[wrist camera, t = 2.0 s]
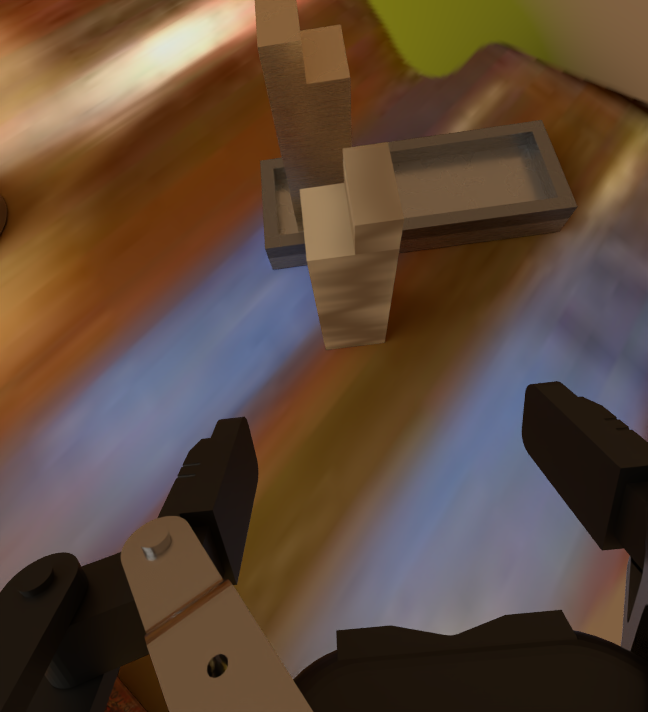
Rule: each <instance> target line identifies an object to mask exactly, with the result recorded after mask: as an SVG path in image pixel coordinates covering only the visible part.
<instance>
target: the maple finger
mask: <svg viewBox="0 0 648 712" xmlns="http://www.w3.org/2000/svg"><path fill="white" fill-rule="evenodd" d="M343 168H344V183H340V184H333V185H326V186H319V187H312V188H305V189H300V197H301V207H302V218H303V228H304V238H305V248H306V258H307V264H308V269H309V274H310V279H311V283H312V288H313V293H314V297H315V302H316V307H317V311H318V316H319V320H320V325H321V330H322V334H323V339H324V344H325V348H326V350H329V349H337V348H346V347H354V346H362V345H370V344H378V343H385V337H386V331H387V325H388V318H389V312H390V306H391V299H392V293H393V287H394V280H395V274H396V267H397V261H398V255H399V248H400V242H401V236H402V229H403V223H404V216H403V211H402V206H401V202H400V197H399V192H398V188H397V183H396V178H395V174H394V169H393V164H392V160H391V155H390V150H389V145H388V142H385V143H378V144H371V145H364V146H357V147H350V148H343Z"/></svg>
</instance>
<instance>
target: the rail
mask: <svg viewBox="0 0 648 712" xmlns="http://www.w3.org/2000/svg"><path fill="white" fill-rule="evenodd" d="M255 12H256V29H257V45H258V51H259V56H260V60H261V65H262V69H263V74H264V78H265V83H266V87H267V92H268V96H269V101H270V105H271V110H272V114H273V119H274V123H275V128H276V132H277V137H278V141H279V146H280V150H281V155H282V158H276V159H270V160H263V161H260V164H261V182H262V200H263V219H264V237H265V250H266V252H267V255H268V258H269V261H270V263H271V266H272V269H273V270H274V269H282V268H289V267H297V266H304V265H308V264H307V258H306V248H305V238H304V228H303V218H302V207H301V197H300V189H305V188H312V187H319V186H326V185H333V184H340V183H344V168H343V148H350V147H352V142H351V94H350V74H349V68H348V63H347V57H346V52H345V46H344V41H343V35H342V30H341V25H335V26H328V27H322V28H316V29H309V30H303V31H300V27H299V19H298V11H297V3H296V0H255ZM388 145H389V150H390V155H391V160H392V164H393V169H394V174H395V178H396V183H397V188H398V192H399V197H400V202H401V206H402V211H403V216H404V223H403V229H402V236H401V242H400V248H399V253H402V252H410V251H417V250H425V249H432V248H440V247H447V246H455V245H462V244H470V243H477V242H485V241H492V240H500V239H508V238H515V237H523V236H530V235H538V234H545V233H553V232H559V231H560V230H561V228H562V227H563V226H564V224H565V223H566V222H567V220H568V219H569V217H570V216H571V215H572V213H573V212H574V211H575V209H576V208H577V204H576V202H575V199H574V197H573V195H572V192H571V190H570V187H569V185H568V182H567V180H566V178H565V175H564V173H563V170H562V168H561V166H560V163H559V161H558V158H557V156H556V153H555V151H554V149H553V146H552V144H551V141H550V139H549V137H548V134H547V132H546V129H545V127H544V125H543V122H542V120H539V121H532V122H525V123H518V124H511V125H504V126H497V127H490V128H484V129H477V130H470V131H463V132H456V133H449V134H442V135H435V136H428V137H421V138H414V139H408V140H401V141H394V142H388Z"/></svg>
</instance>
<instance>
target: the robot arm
mask: <svg viewBox="0 0 648 712" xmlns="http://www.w3.org/2000/svg"><path fill="white" fill-rule="evenodd" d="M6 217H7V206H6V203H5V201H4V199H3V197H2V196H1V195H0V233H1V232H2V230H3V227H4V225H5V222H6ZM522 439H523V443H524V446H525V448H526V450H527V452H528V454H529V455H530V456H531V458H532V459H533V460H534V462H535V463H536V464H537V466H538V467H539V468H540V470H541V471H542V472H543V474H544V475H545V476H546V477H547V479H548V480H549V481H550V483H551V484H552V485H553V487H554V488H555V489H556V491H557V492H558V493H559V495H560V496H561V497H562V499H563V500H564V501H565V502H566V504H567V505H568V506H569V508H570V509H571V510H572V512H573V513H574V514H575V516H576V517H577V518H578V520H579V521H580V522H581V524H582V525H583V526H584V527H585V529H586V530H587V531H588V533H589V534H590V535H591V537H592V538H593V539H594V541H595V542H596V543H597V545H598V546H599V547H600V549H601V550H612V549H622V548H624V549H625V550H626V551H627V552H628V554H629V555H630V557H629V561H628V565H627V575H626V589H625V604H624V618H623V633H622V641H621V647H620V646H618V645H616V644H614V643H612V642H610V641H607V640H604V639H602V638H599V637H597V636H593V635H590V634H586V633H583V632H579V631H574V630H572V628H571V626H570V624H569V622H568V621H567V619H566V617H565V615H564V613H563V612H562V610H555V611H544V612H533V613H522V614H511V615H504V616H502V617H499V618H497V619H494V620H492V621H489V622H487V623H484V624H482V625H479V626H477V627H474V628H472V629H469V630H467V631H465V632H462V633H460V634H457V635H452V636H448V635H441V634H436V633H430V632H424V631H419V630H413V629H407V628H402V627H396V626H380V627H370V628H359V629H348V630H337V631H336V633H337V650H336V651H333V652H331V653H329V654H326V655H325V656H323V657H321V658H319V659H318V660H316V661H314V662H313V663H312V664H310V665H309V666H308V667H306V668H305V669H304V670H303V671H302V672H300V673H299V674H298V675H297V676H296V677H295V678H294V679H292V677H291V676H290V674H289V673H288V671H287V670H286V668H285V666H284V665H283V663H282V662H281V660H280V659H279V657H278V655H277V654H276V652H275V651H274V649H273V647H272V646H271V644H270V643H269V641H268V640H267V638H266V636H265V635H264V633H263V632H262V630H261V629H260V627H259V625H258V624H257V622H256V621H255V619H254V618H253V616H252V614H251V613H250V611H249V610H248V608H247V606H246V605H245V603H244V602H243V600H242V599H241V597H240V595H239V594H238V592H237V591H236V589H235V588H234V586H233V585H237V581H238V576H239V571H240V566H241V561H242V557H243V552H244V547H245V542H246V537H247V532H248V527H249V522H250V517H251V512H252V507H253V502H254V497H255V492H256V487H257V482H258V463H257V458H256V454H255V450H254V445H253V441H252V437H251V433H250V429H249V425H248V422H247V419H246V418H245V417H238V418H229V419H221V420H218V422H217V424H216V426H215V429H214V431H213V434H212V436H211V438H206V439H201V440H200V441H199V442H198V443H197V444H196V445H195V446H194V447H193V448H192V449H191V450H190V451H189V453H188V455H187V457H186V459H185V461H184V463H183V467H181V469H180V472H179V474H178V478H177V479H176V480H175V482H174V484H173V486H172V488H171V491H170V493H169V495H168V497H167V499H166V501H165V503H164V505H163V507H162V509H161V512H160V514H159V516H158V518H157V519H155V520H152V521H150V522H148V523H146V524H145V525H143V526H142V527H140V528H139V529H138V530H136V531H135V532H134V533H133V534H132V535H131V536H130V537H129V539H128V540H127V541H126V543H125V545H124V547H123V549H122V552H120V553H117V554H115V555H112V556H109V557H107V558H104V559H101V560H98V561H96V562H93V563H90V564H87V565H85V566H82V567H81V565H80V563H79V561H78V560H77V558H76V557H75V556H74V555H73V554H70V553H55V554H51V555H48V556H45V557H43V558H41V559H39V560H37V561H35V562H33V563H31V564H30V565H28V566H27V567H25V568H24V569H22V570H21V571H20V572H19V573H17V574H16V575H15V576H14V577H13V578H12V579H11V580H10V581H9V582H8V583H7V584H6V586H5V587H4V588H3V590H2V591H1V592H0V712H104V711H105V709H106V706H107V703H108V700H109V697H110V695H111V692H112V689H113V686H114V683H115V680H116V678H117V675H118V672H119V669H120V666H123V665H125V664H127V663H130V662H132V661H134V660H136V659H139V658H141V657H143V656H146V655H148V654H150V657H151V660H152V663H153V666H154V668H155V671H156V674H157V677H158V680H159V683H160V686H161V689H162V692H163V695H164V698H165V701H166V704H167V707H168V710H169V712H648V442H647V441H645V440H644V439H643V438H642V437H640V436H639V435H638V434H637V433H635V432H634V431H633V430H629V427H628V426H627V425H626V424H624V423H623V422H622V421H621V420H617V417H616V416H614V415H613V414H612V413H611V412H609V411H608V410H607V409H606V408H604V407H603V406H602V405H600V404H597V403H595V402H593V401H591V400H588V399H586V398H584V397H577V396H576V395H575V394H574V393H573V392H572V391H570V390H569V389H568V388H567V387H566V386H564V385H563V384H562V383H561V382H558V381H556V382H547V383H538V384H530V385H528V386H527V388H526V392H525V401H524V412H523V423H522Z"/></svg>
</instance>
